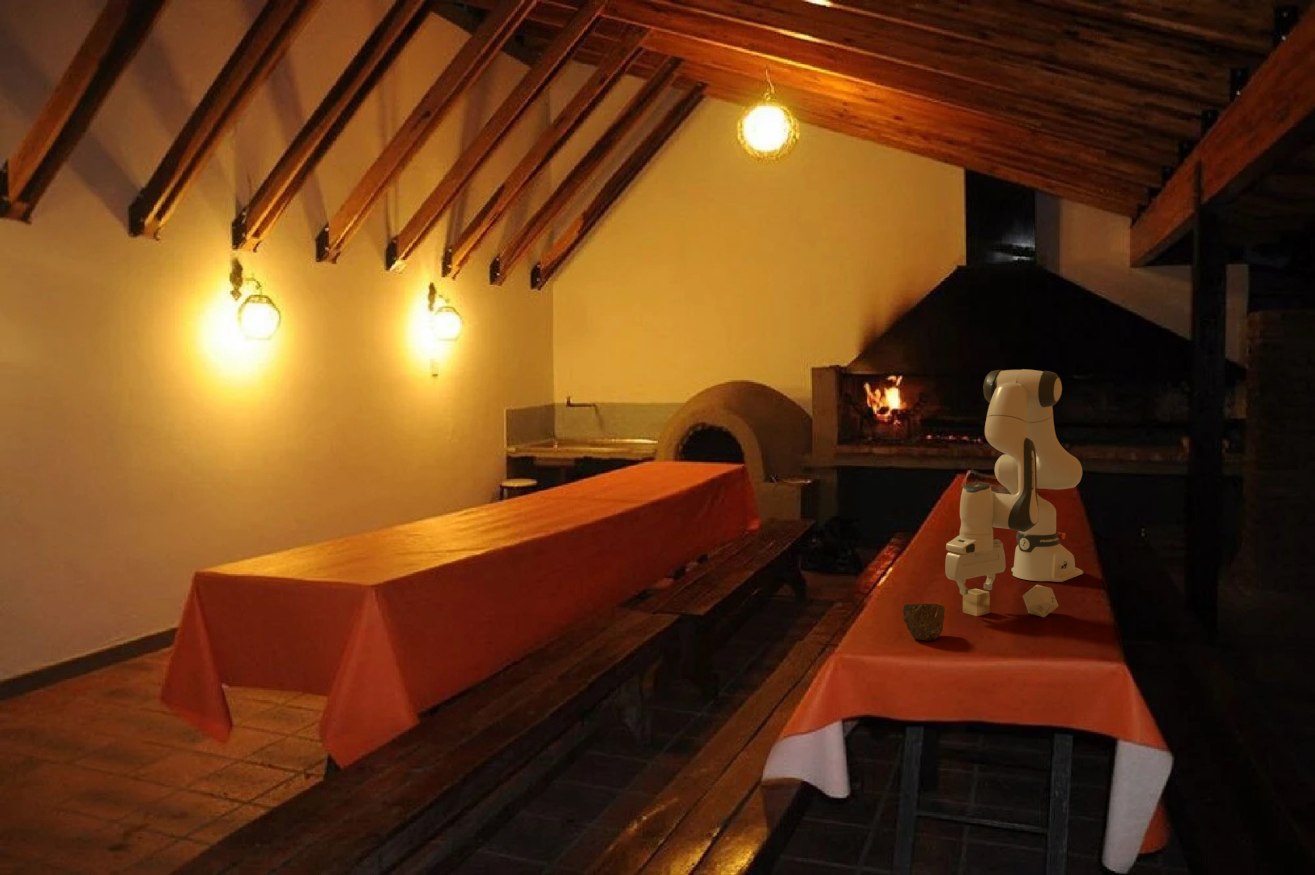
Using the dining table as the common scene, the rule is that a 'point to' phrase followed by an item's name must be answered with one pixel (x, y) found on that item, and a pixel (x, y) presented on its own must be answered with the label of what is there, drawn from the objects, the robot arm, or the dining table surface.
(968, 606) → the beech block
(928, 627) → the rock
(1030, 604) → the die
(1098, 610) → the dining table surface
